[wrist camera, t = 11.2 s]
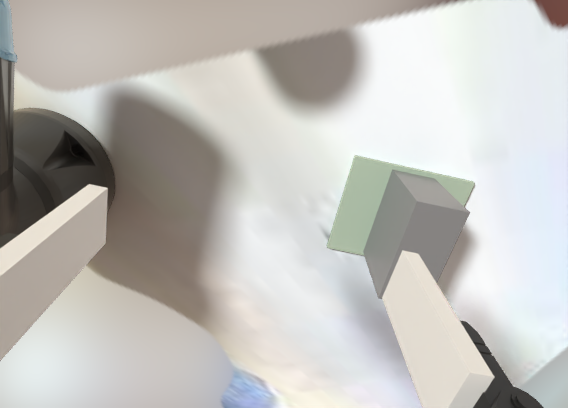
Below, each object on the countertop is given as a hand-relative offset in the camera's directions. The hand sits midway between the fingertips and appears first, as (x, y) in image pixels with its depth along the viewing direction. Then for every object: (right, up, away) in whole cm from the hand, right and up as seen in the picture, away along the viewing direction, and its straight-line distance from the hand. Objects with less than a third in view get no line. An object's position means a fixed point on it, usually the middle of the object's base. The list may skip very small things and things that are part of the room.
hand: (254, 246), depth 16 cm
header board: (+15, +1, +27) cm, 31 cm away
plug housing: (+15, 0, +27) cm, 31 cm away
